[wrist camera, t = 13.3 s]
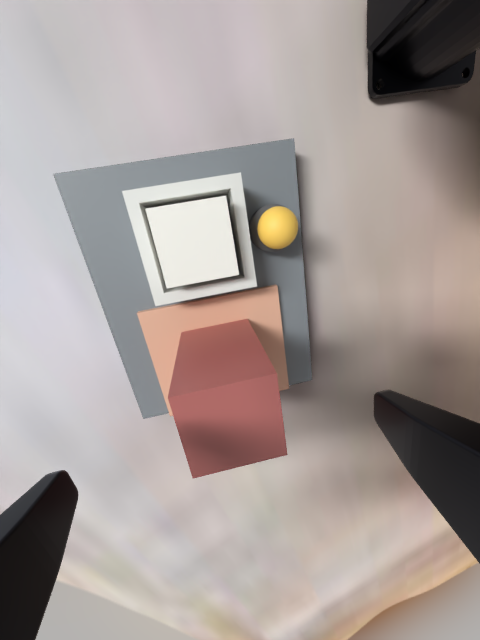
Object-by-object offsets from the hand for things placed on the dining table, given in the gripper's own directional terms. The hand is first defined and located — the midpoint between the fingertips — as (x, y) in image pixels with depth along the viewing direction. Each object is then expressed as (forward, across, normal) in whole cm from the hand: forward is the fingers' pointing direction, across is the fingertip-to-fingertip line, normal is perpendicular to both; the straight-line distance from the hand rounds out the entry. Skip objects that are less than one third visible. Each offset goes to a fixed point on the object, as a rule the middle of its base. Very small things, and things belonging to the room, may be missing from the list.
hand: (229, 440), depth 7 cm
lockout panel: (+12, 0, -2) cm, 12 cm away
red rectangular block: (+10, 0, +2) cm, 10 cm away
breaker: (+10, 0, -5) cm, 11 cm away
